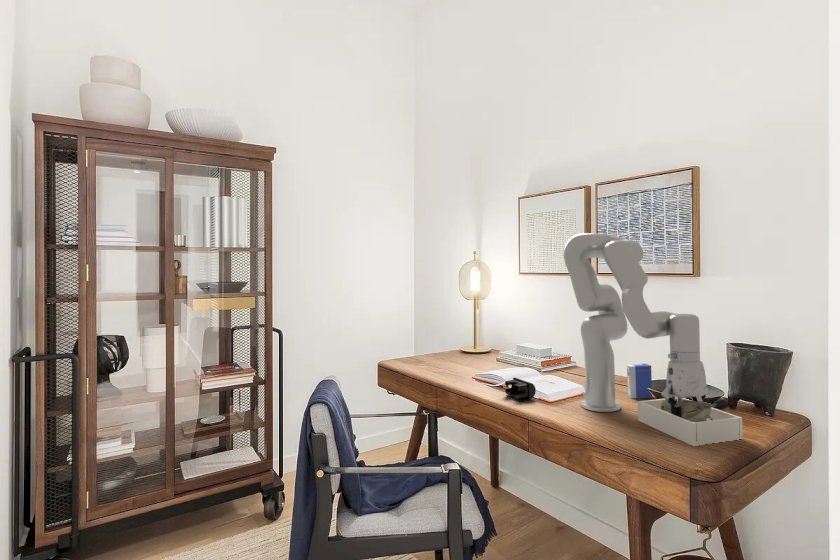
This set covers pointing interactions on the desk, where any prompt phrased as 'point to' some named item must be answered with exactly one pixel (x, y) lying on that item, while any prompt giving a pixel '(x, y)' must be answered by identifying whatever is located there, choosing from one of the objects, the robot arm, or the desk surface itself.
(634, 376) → the walkman
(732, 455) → the desk surface
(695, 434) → the walled box
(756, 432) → the desk surface
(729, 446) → the desk surface
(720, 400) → the disk drive
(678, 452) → the desk surface
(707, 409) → the decorative bird
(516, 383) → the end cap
